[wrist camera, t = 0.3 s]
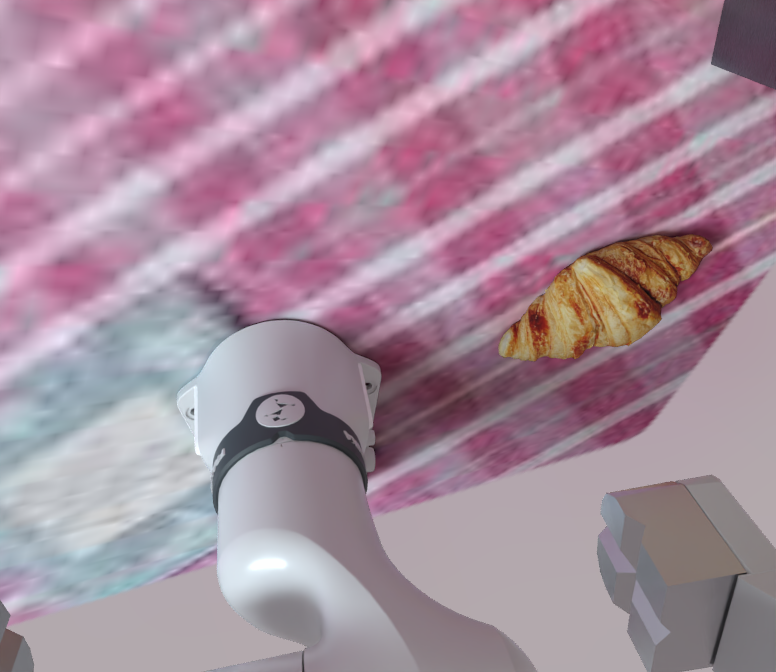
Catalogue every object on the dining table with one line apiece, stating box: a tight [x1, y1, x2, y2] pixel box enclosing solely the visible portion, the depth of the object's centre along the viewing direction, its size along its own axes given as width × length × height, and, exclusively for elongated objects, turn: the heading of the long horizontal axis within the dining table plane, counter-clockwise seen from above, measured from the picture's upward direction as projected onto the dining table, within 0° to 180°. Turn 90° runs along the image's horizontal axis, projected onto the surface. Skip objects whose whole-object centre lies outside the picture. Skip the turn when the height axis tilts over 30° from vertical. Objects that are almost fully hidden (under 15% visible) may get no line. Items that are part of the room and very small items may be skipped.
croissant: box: [499, 234, 713, 361], centre depth 63 cm, size 21×10×8 cm, turn 121°
